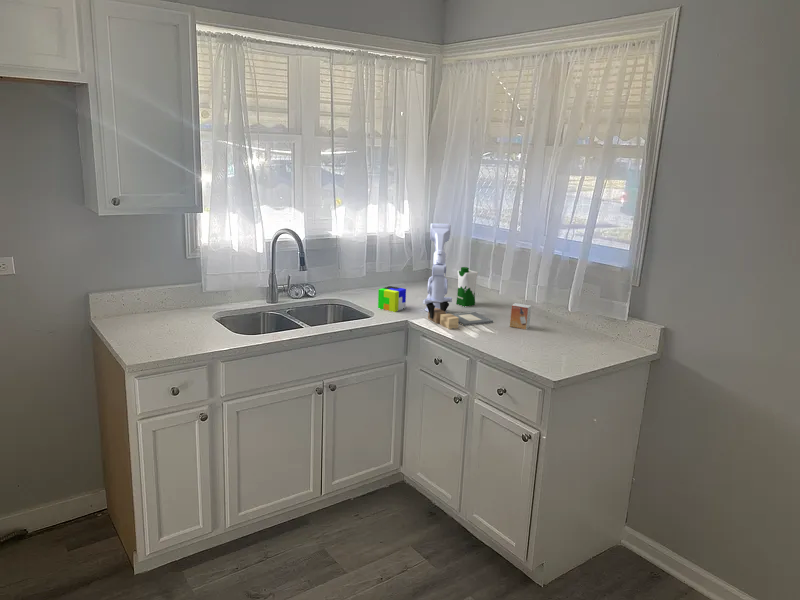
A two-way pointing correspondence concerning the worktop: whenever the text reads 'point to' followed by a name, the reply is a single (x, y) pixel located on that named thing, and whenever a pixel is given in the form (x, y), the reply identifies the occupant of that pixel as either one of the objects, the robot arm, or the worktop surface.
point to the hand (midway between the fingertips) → (436, 317)
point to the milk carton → (466, 287)
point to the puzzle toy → (391, 298)
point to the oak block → (449, 321)
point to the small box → (520, 316)
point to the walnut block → (436, 315)
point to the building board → (472, 318)
